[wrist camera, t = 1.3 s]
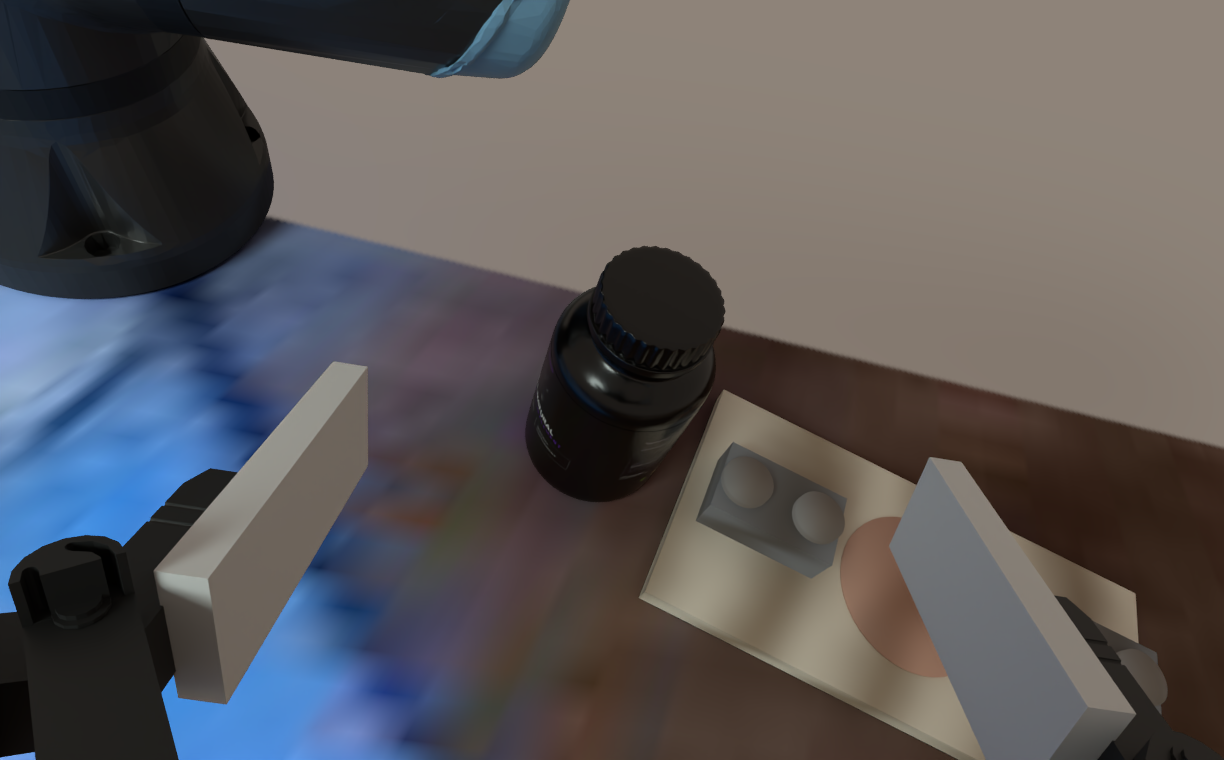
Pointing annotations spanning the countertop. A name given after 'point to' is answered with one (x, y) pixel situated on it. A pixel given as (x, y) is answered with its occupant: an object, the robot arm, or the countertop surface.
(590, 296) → the supplement bottle
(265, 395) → the countertop surface
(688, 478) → the cream base tray
